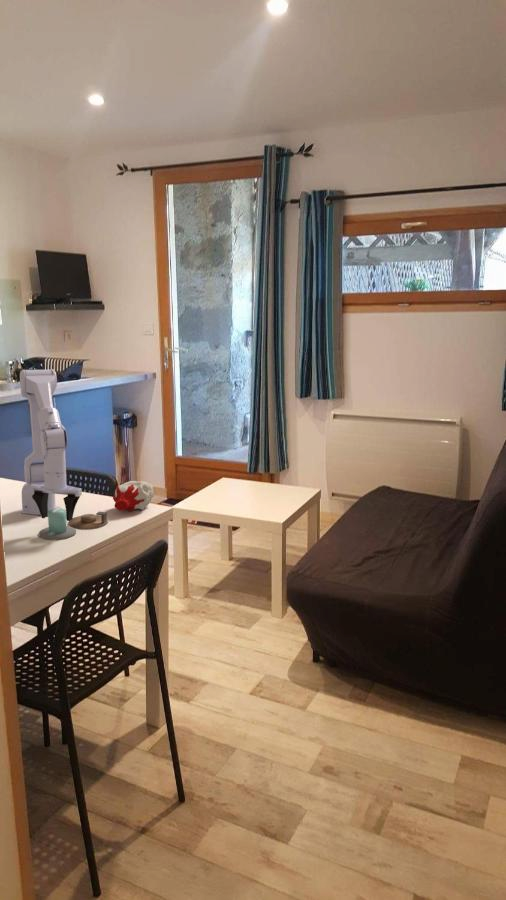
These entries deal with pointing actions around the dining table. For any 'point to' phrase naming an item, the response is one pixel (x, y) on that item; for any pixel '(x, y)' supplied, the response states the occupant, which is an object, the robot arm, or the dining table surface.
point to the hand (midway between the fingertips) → (57, 518)
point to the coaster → (67, 534)
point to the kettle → (57, 521)
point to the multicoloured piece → (133, 495)
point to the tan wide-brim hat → (89, 521)
